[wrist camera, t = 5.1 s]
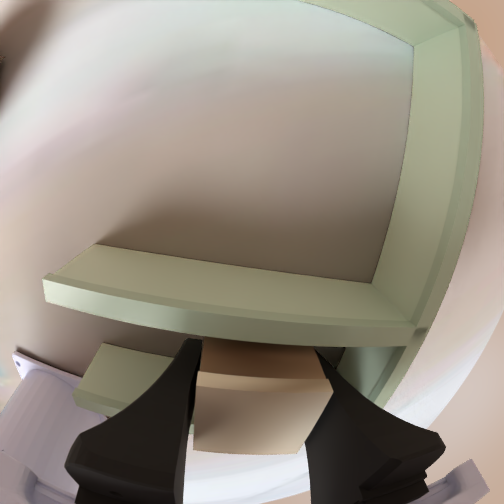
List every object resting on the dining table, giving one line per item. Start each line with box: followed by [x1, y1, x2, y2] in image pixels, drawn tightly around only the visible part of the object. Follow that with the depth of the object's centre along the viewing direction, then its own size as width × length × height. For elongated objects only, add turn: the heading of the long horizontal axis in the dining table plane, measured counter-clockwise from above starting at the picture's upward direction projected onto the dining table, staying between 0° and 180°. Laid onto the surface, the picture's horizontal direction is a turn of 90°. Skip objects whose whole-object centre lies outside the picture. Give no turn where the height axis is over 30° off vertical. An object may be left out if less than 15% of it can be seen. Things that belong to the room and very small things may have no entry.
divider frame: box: [42, 0, 484, 434], centre depth 9 cm, size 21×15×4 cm
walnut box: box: [193, 336, 333, 455], centre depth 11 cm, size 4×4×6 cm
